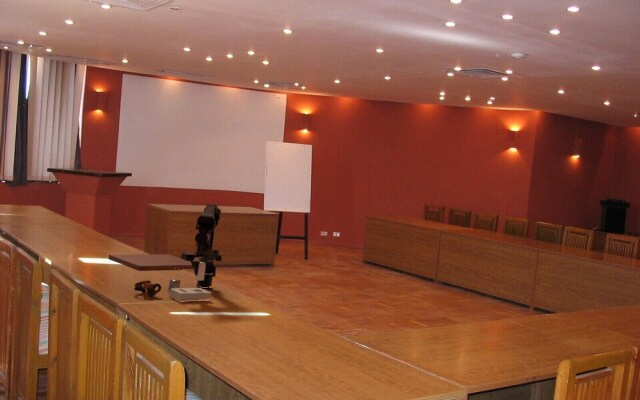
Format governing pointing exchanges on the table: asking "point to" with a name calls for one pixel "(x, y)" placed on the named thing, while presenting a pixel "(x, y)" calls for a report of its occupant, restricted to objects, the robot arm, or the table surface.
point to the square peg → (200, 271)
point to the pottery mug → (147, 288)
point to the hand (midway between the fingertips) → (199, 275)
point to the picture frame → (152, 261)
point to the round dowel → (174, 284)
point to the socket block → (189, 294)
